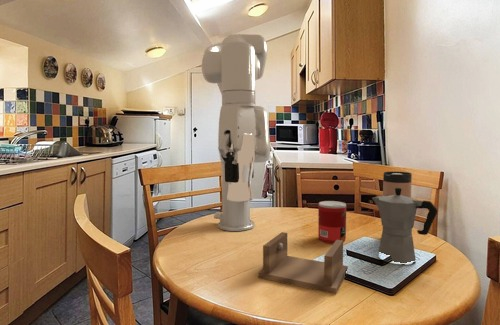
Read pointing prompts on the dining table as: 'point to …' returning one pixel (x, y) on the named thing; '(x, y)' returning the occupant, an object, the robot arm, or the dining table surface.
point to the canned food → (331, 221)
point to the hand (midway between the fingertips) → (239, 179)
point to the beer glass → (243, 171)
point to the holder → (303, 266)
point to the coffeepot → (401, 224)
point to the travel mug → (397, 183)
